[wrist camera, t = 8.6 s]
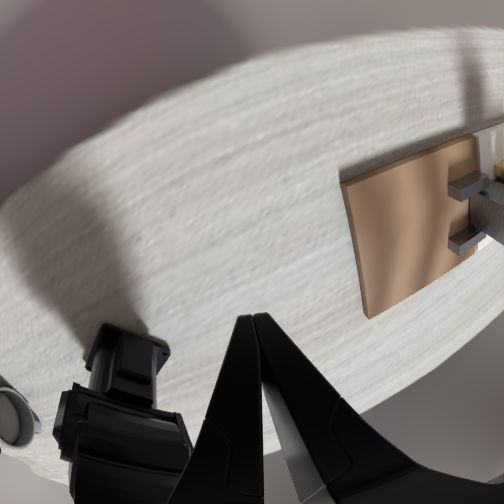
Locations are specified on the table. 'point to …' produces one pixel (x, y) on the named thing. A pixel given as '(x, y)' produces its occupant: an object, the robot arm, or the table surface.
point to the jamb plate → (489, 158)
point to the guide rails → (462, 192)
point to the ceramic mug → (16, 421)
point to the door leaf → (408, 222)
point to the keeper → (499, 169)
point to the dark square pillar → (489, 210)
